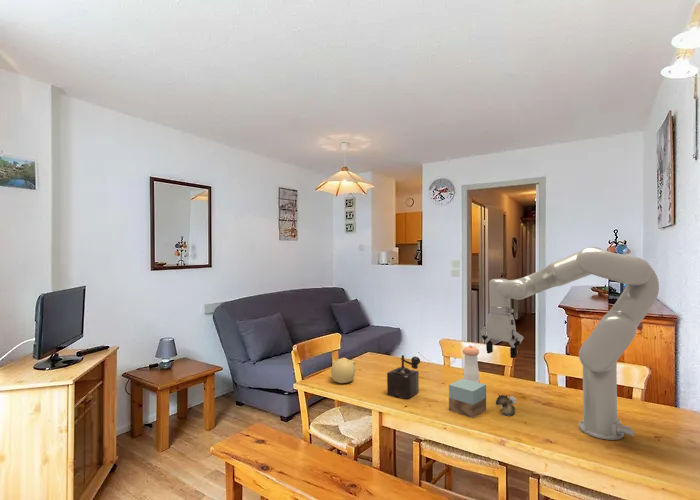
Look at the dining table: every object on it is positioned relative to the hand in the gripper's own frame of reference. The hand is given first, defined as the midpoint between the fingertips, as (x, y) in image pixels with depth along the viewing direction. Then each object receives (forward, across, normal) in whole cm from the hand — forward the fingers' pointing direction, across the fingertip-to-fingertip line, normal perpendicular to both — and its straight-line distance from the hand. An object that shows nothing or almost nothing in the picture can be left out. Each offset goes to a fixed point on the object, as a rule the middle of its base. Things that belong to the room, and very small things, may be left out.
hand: (501, 355), depth 147 cm
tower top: (+16, +8, +11) cm, 21 cm away
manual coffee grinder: (+21, +34, +16) cm, 43 cm away
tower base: (+21, +8, +11) cm, 25 cm away
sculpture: (+20, +67, +26) cm, 74 cm away
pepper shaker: (+21, +20, -10) cm, 31 cm away
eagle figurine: (+21, -2, +1) cm, 21 cm away
